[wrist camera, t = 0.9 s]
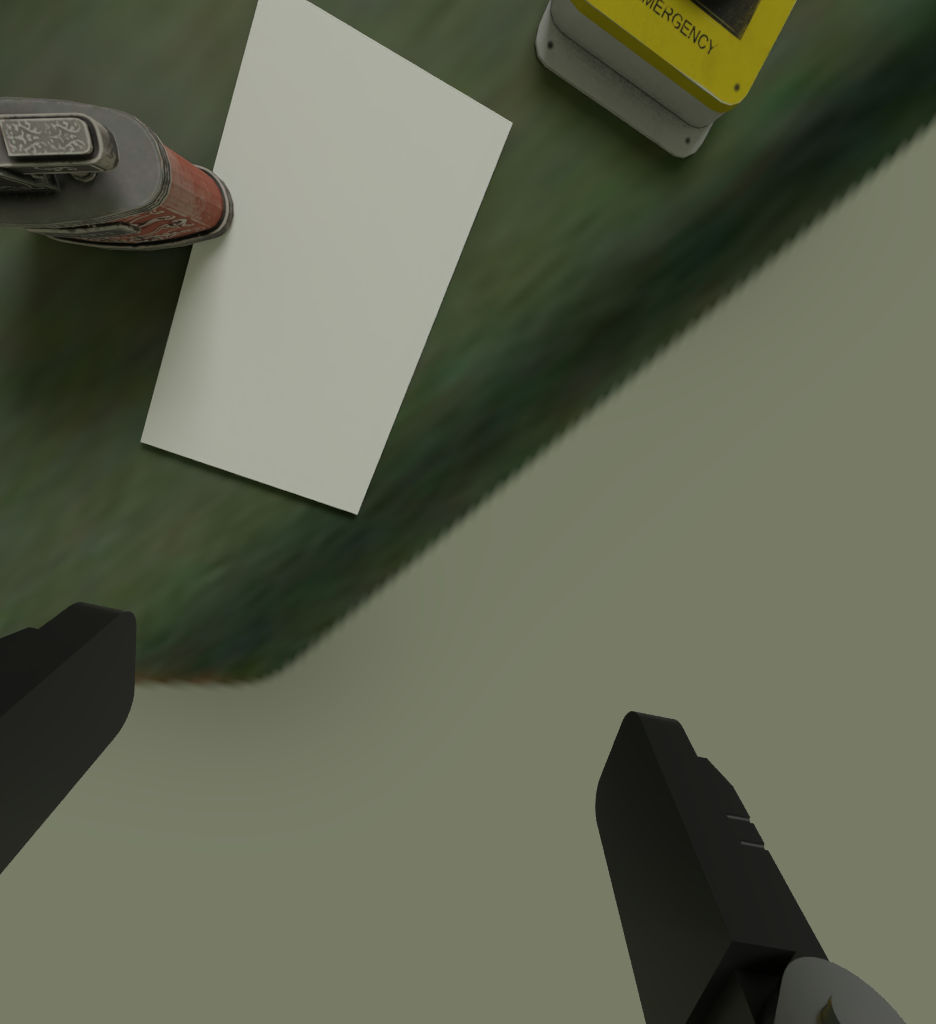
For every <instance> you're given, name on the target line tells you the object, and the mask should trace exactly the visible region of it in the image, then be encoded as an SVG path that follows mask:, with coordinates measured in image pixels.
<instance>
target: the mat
mask: <svg viewBox="0 0 936 1024" xmlns="http://www.w3.org/2000/svg"><path fill="white" fill-rule="evenodd" d="M511 126H512V122H510V121H508V120H507V119H505V118H503V117H502V116H500V115H498V114H497V113H495V112H493V111H492V110H490V109H488V108H487V107H485V106H483V105H481V104H480V103H478V102H476V101H475V100H473V99H471V98H470V97H468V96H466V95H465V94H463V93H461V92H460V91H458V90H456V89H455V88H453V87H451V86H450V85H448V84H446V83H444V82H443V81H441V80H439V79H438V78H436V77H434V76H433V75H431V74H429V73H428V72H426V71H424V70H423V69H421V68H419V67H418V66H416V65H414V64H413V63H411V62H409V61H408V60H406V59H404V58H402V57H401V56H399V55H397V54H396V53H394V52H392V51H391V50H389V49H387V48H386V47H384V46H382V45H381V44H379V43H377V42H376V41H374V40H372V39H371V38H369V37H367V36H365V35H364V34H362V33H360V32H359V31H357V30H355V29H354V28H352V27H350V26H349V25H347V24H345V23H344V22H342V21H340V20H339V19H337V18H335V17H334V16H332V15H330V14H329V13H327V12H325V11H323V10H322V9H320V8H318V7H317V6H315V5H313V4H312V3H310V2H308V1H307V0H258V4H257V8H256V12H255V15H254V19H253V23H252V27H251V30H250V34H249V38H248V42H247V45H246V49H245V53H244V57H243V60H242V64H241V68H240V72H239V75H238V79H237V83H236V86H235V90H234V94H233V98H232V101H231V105H230V109H229V113H228V116H227V120H226V124H225V128H224V131H223V135H222V139H221V143H220V146H219V150H218V154H217V157H216V161H215V165H214V169H213V173H214V174H216V175H217V176H218V177H219V178H220V179H221V180H222V181H223V182H224V183H225V185H226V186H227V188H228V189H229V191H230V193H231V196H232V199H233V203H234V218H233V221H232V225H231V227H230V228H229V229H228V231H227V232H226V233H225V234H223V235H222V236H220V237H218V238H214V239H210V240H206V241H202V242H199V243H195V244H193V247H192V251H191V255H190V258H189V262H188V266H187V270H186V273H185V277H184V281H183V285H182V288H181V292H180V296H179V300H178V303H177V307H176V311H175V315H174V318H173V322H172V326H171V329H170V333H169V337H168V341H167V344H166V348H165V352H164V356H163V359H162V363H161V367H160V371H159V374H158V378H157V382H156V386H155V389H154V393H153V397H152V401H151V404H150V408H149V412H148V415H147V419H146V423H145V427H144V430H143V434H142V438H141V442H143V443H146V444H149V445H152V446H155V447H158V448H160V449H163V450H166V451H169V452H172V453H175V454H178V455H181V456H184V457H187V458H190V459H193V460H196V461H199V462H202V463H205V464H208V465H211V466H214V467H217V468H220V469H223V470H226V471H229V472H232V473H235V474H238V475H241V476H244V477H247V478H250V479H253V480H256V481H259V482H262V483H265V484H268V485H271V486H273V487H276V488H279V489H282V490H285V491H288V492H291V493H294V494H297V495H300V496H303V497H306V498H309V499H312V500H315V501H318V502H321V503H324V504H327V505H330V506H333V507H336V508H339V509H342V510H345V511H348V512H351V513H354V514H358V511H359V509H360V506H361V504H362V501H363V499H364V496H365V494H366V491H367V489H368V486H369V484H370V481H371V479H372V476H373V474H374V471H375V469H376V466H377V464H378V461H379V459H380V456H381V454H382V451H383V448H384V446H385V443H386V441H387V438H388V436H389V433H390V431H391V428H392V426H393V423H394V421H395V418H396V416H397V413H398V411H399V408H400V406H401V403H402V401H403V398H404V396H405V393H406V391H407V388H408V385H409V383H410V380H411V378H412V375H413V373H414V370H415V368H416V365H417V363H418V360H419V358H420V355H421V353H422V350H423V348H424V345H425V343H426V340H427V338H428V335H429V333H430V330H431V328H432V325H433V322H434V320H435V317H436V315H437V312H438V310H439V307H440V305H441V302H442V300H443V297H444V295H445V292H446V290H447V287H448V285H449V282H450V280H451V277H452V275H453V272H454V270H455V267H456V265H457V262H458V259H459V257H460V254H461V252H462V249H463V247H464V244H465V242H466V239H467V237H468V234H469V232H470V229H471V227H472V224H473V222H474V219H475V217H476V214H477V212H478V209H479V207H480V204H481V201H482V199H483V196H484V194H485V191H486V189H487V186H488V184H489V181H490V179H491V176H492V174H493V171H494V169H495V166H496V164H497V161H498V159H499V156H500V154H501V151H502V149H503V146H504V144H505V141H506V138H507V136H508V133H509V131H510V128H511Z"/></svg>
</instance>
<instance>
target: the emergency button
mask: <svg viewBox="0 0 936 1024" xmlns="http://www.w3.org/2000/svg"><path fill="white" fill-rule="evenodd" d="M796 1H797V0H549V3H548V5H547V7H546V10H545V12H544V14H543V17H542V19H541V21H540V24H539V26H538V30H537V35H536V40H535V45H536V51H537V57H538V58H539V59H540V61H541V62H542V63H543V65H544V66H545V67H546V68H548V69H549V70H551V71H552V72H553V73H555V74H556V75H558V76H559V77H561V78H562V79H563V80H565V81H566V82H568V83H569V84H571V85H572V86H574V87H575V88H576V89H578V90H579V91H581V92H582V93H584V94H585V95H587V96H588V97H589V98H591V99H592V100H594V101H595V102H597V103H598V104H599V105H601V106H602V107H604V108H605V109H607V110H608V111H610V112H611V113H612V114H614V115H615V116H617V117H618V118H620V119H621V120H623V121H624V122H625V123H627V124H628V125H630V126H631V127H633V128H634V129H635V130H637V131H638V132H640V133H641V134H643V135H644V136H646V137H647V138H648V139H650V140H651V141H653V142H654V143H656V144H657V145H659V146H660V147H661V148H663V149H664V150H666V151H667V152H669V153H670V154H672V155H673V156H675V157H680V158H685V157H687V156H689V155H691V154H693V153H695V152H696V151H697V149H698V148H699V147H700V146H701V144H702V143H703V141H704V140H705V138H706V136H707V134H708V132H709V130H710V128H711V126H712V124H713V122H714V121H715V120H716V119H717V118H719V117H720V116H722V115H723V114H724V113H726V112H727V111H730V110H732V109H733V108H734V107H735V106H736V105H738V104H739V103H740V102H741V101H742V100H743V98H744V97H745V96H746V95H747V94H748V92H749V90H750V88H751V86H752V84H753V82H754V80H755V78H756V77H757V75H758V73H759V71H760V69H761V67H762V65H763V63H764V61H765V59H766V58H767V56H768V54H769V52H770V50H771V48H772V46H773V44H774V42H775V41H776V39H777V37H778V35H779V33H780V31H781V29H782V27H783V25H784V24H785V22H786V20H787V18H788V16H789V14H790V12H791V10H792V8H793V6H794V5H795V3H796Z"/></svg>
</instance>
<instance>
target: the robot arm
mask: <svg viewBox="0 0 936 1024" xmlns="http://www.w3.org/2000/svg"><path fill="white" fill-rule="evenodd" d="M135 655H136V619H135V616H134V614H133V613H131V612H129V611H124V610H119V609H114V608H108V607H103V606H98V605H93V604H88V603H83V602H78V603H75V604H73V605H71V606H69V607H68V608H67V609H65V610H64V611H63V612H61V613H60V614H58V615H57V616H56V617H54V618H53V619H52V620H50V621H49V622H48V623H46V624H45V625H43V626H42V627H41V628H39V629H35V628H30V627H28V628H26V629H23V630H21V631H18V632H16V633H13V634H10V635H8V636H5V637H3V638H0V874H1V873H2V872H3V870H4V869H5V868H6V867H7V866H8V864H9V863H10V862H11V861H12V860H13V859H14V857H15V856H16V855H17V854H18V853H19V851H20V850H21V849H22V848H23V846H24V845H25V844H26V843H27V842H28V841H29V839H30V838H31V837H32V836H33V835H34V833H35V832H36V831H37V830H38V829H39V827H40V826H41V825H42V824H43V823H44V821H45V820H46V819H47V818H48V817H49V815H50V814H51V813H52V812H53V811H54V809H55V808H56V807H57V806H58V804H60V802H61V801H62V800H63V799H64V798H65V796H66V795H67V794H68V793H69V791H70V790H71V789H72V788H73V787H74V785H75V784H76V783H77V782H78V781H79V780H80V778H81V777H82V776H83V775H84V774H85V772H86V771H87V770H88V769H89V768H90V766H91V765H92V764H93V763H94V762H95V760H96V759H97V758H98V757H99V756H100V754H101V753H102V752H103V751H104V750H105V748H106V747H107V746H108V745H109V744H110V743H111V741H112V740H113V739H114V738H115V737H116V735H117V734H118V733H119V731H120V730H121V728H122V726H123V725H124V723H125V721H126V719H127V717H128V714H129V712H130V709H131V706H132V702H133V697H134V686H135ZM595 808H596V809H595V810H596V821H597V825H598V829H599V834H600V837H601V842H602V845H603V850H604V854H605V858H606V862H607V866H608V870H609V874H610V878H611V882H612V887H613V891H614V895H615V899H616V903H617V907H618V911H619V915H620V919H621V923H622V927H623V931H624V935H625V940H626V944H627V948H628V952H629V956H630V960H631V964H632V968H633V972H634V976H635V980H636V984H637V988H638V993H639V996H640V1001H641V1005H642V1009H643V1012H644V1017H645V1021H646V1024H906V1023H905V1022H904V1020H903V1019H902V1018H901V1017H900V1016H899V1014H898V1013H897V1012H896V1011H895V1010H894V1009H893V1008H892V1007H891V1005H890V1004H889V1003H888V1002H887V1001H886V1000H885V999H884V998H883V997H882V996H881V995H879V993H877V992H876V991H875V990H874V989H873V988H872V987H871V986H869V985H868V984H867V983H865V982H864V981H863V980H862V979H860V978H859V977H858V976H856V975H854V974H853V973H851V972H850V971H848V970H847V969H844V968H843V967H841V966H839V965H837V964H835V963H833V962H830V961H829V960H828V958H827V956H826V954H825V953H824V951H823V949H822V947H821V945H820V944H819V942H818V940H817V938H816V936H815V934H814V933H813V931H812V929H811V927H810V925H809V924H808V922H807V920H806V918H805V916H804V915H803V913H802V911H801V909H800V907H799V905H798V904H797V902H796V900H795V898H794V896H793V895H792V893H791V891H790V889H789V887H788V885H787V884H786V882H785V880H784V878H783V876H782V875H781V873H780V871H779V869H778V867H777V865H776V864H775V862H774V860H773V858H772V856H771V855H770V853H769V851H768V850H765V849H764V842H763V840H762V838H761V836H760V835H759V833H758V831H757V829H756V827H755V825H754V824H753V823H750V821H749V818H750V816H749V815H748V813H747V811H746V809H745V808H744V805H743V804H742V802H741V800H740V798H739V796H738V795H737V793H736V791H735V790H734V788H733V786H732V785H731V784H730V783H729V782H728V781H727V779H726V778H725V777H724V776H723V775H722V774H721V773H720V772H719V771H718V770H717V769H716V768H715V767H714V766H713V765H712V764H711V762H710V761H709V760H708V759H707V758H702V757H697V755H696V753H695V751H694V749H693V747H692V745H691V743H690V741H689V739H688V737H687V735H686V733H685V731H684V729H683V727H682V725H681V724H680V723H679V722H678V721H677V720H675V719H670V718H664V717H660V716H654V715H649V714H644V713H639V712H634V711H631V712H629V713H627V715H626V716H625V717H624V719H623V722H622V724H621V726H620V729H619V731H618V734H617V736H616V739H615V741H614V744H613V747H612V749H611V752H610V754H609V757H608V759H607V762H606V764H605V767H604V769H603V772H602V775H601V777H600V780H599V783H598V787H597V792H596V804H595Z"/></svg>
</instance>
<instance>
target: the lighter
mask: <svg viewBox="0 0 936 1024" xmlns="http://www.w3.org/2000/svg"><path fill="white" fill-rule="evenodd" d="M233 218H234V203H233V199H232V196H231V193H230V191H229V189H228V188H227V186H226V185H225V183H224V182H223V181H222V180H221V179H220V178H219V177H218V176H217V175H216V174H214V173H213V172H211V171H210V170H209V169H206V168H204V167H201V166H199V165H194V164H191V163H190V162H188V161H187V160H185V159H184V158H182V157H181V156H180V155H178V154H177V153H175V152H174V151H172V150H171V149H169V148H168V147H166V146H165V145H163V144H162V143H161V141H160V139H159V138H158V136H157V135H156V134H155V133H154V132H153V131H152V130H151V129H150V128H148V127H147V126H146V125H145V124H144V123H142V122H141V121H140V120H138V119H137V118H135V117H134V116H132V115H130V114H127V113H125V112H123V111H120V110H115V109H110V108H105V107H99V106H94V105H88V104H83V103H77V102H72V101H67V100H54V99H36V98H18V97H0V226H2V227H20V228H25V229H26V230H28V231H29V232H33V233H38V234H42V235H46V236H47V237H49V238H51V239H54V240H57V241H60V242H65V243H70V244H76V245H83V246H89V247H96V248H102V249H110V250H142V251H149V250H157V249H165V248H174V247H182V246H187V245H191V244H195V243H199V242H202V241H206V240H210V239H214V238H218V237H220V236H222V235H223V234H225V233H226V232H227V231H228V229H229V228H230V227H231V225H232V221H233Z"/></svg>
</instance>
